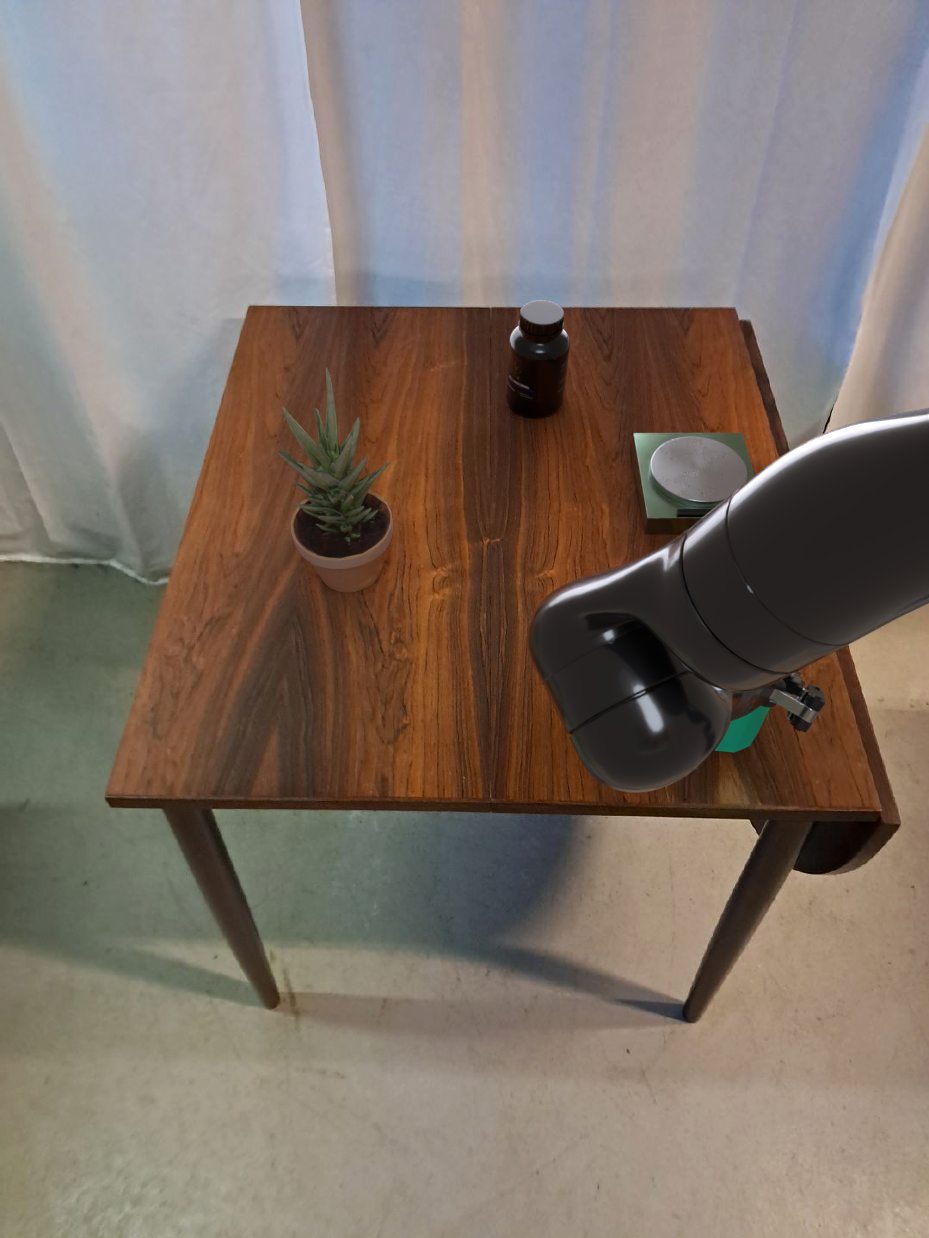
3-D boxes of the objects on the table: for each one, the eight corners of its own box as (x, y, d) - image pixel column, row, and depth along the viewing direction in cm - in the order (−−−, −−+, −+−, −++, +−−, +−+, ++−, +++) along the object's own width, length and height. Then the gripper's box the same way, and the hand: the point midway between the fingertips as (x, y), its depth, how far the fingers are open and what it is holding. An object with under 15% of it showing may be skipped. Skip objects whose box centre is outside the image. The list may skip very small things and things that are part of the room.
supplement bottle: (502, 417, 103) (505, 327, 94) (510, 381, 107) (513, 291, 98) (561, 423, 103) (570, 333, 93) (566, 386, 107) (576, 296, 97)
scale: (760, 534, 92) (768, 512, 89) (644, 534, 92) (648, 512, 89) (737, 449, 100) (744, 427, 97) (630, 449, 100) (634, 427, 97)
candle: (680, 739, 75) (709, 656, 66) (696, 684, 79) (725, 598, 69) (751, 762, 74) (791, 681, 65) (764, 705, 77) (804, 620, 68)
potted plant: (321, 621, 85) (275, 417, 66) (289, 555, 90) (238, 347, 71) (417, 586, 88) (400, 380, 68) (380, 524, 93) (356, 315, 73)
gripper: (841, 679, 53) (863, 669, 68) (640, 561, 59) (701, 576, 74) (773, 781, 55) (809, 750, 69) (584, 657, 61) (655, 652, 75)
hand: (753, 660), depth 72 cm, fingers closed on candle, 6 cm apart
